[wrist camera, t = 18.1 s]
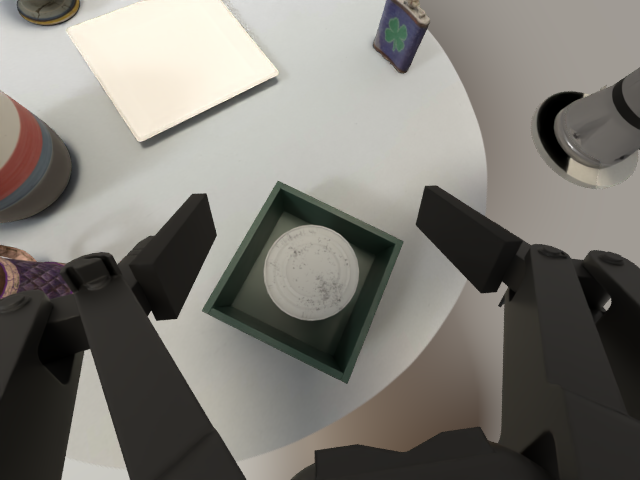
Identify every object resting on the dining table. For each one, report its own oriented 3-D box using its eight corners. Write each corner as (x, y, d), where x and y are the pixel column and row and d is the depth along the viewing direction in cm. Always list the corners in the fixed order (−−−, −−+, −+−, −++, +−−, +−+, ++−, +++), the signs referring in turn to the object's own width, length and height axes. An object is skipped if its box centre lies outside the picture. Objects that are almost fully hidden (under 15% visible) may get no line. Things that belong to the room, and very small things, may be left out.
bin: (380, 254, 39) (403, 241, 31) (335, 363, 35) (347, 384, 26) (282, 206, 40) (277, 180, 31) (224, 308, 35) (201, 311, 27)
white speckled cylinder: (273, 314, 35) (261, 321, 23) (275, 248, 37) (265, 224, 25) (340, 312, 36) (361, 319, 24) (338, 248, 38) (356, 225, 26)
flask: (370, 45, 49) (390, -23, 39) (380, 38, 50) (402, -30, 40) (401, 76, 48) (430, 14, 38) (411, 69, 49) (442, 7, 39)
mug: (109, 294, 34) (12, 291, 23) (58, 329, 33) (-74, 345, 21) (71, 239, 35) (-39, 209, 24) (21, 270, 34) (-123, 254, 22)
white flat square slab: (280, 82, 45) (280, 72, 43) (145, 149, 40) (137, 141, 38) (206, -11, 49) (202, -24, 47) (73, 40, 43) (63, 27, 41)
